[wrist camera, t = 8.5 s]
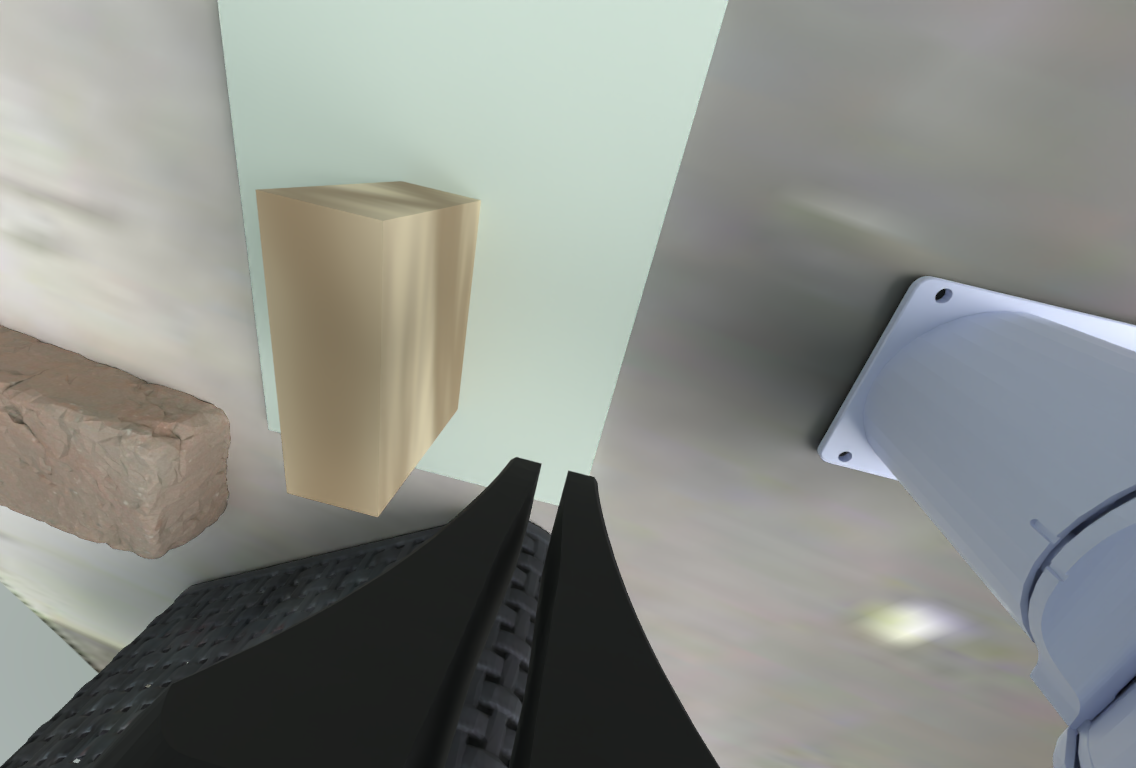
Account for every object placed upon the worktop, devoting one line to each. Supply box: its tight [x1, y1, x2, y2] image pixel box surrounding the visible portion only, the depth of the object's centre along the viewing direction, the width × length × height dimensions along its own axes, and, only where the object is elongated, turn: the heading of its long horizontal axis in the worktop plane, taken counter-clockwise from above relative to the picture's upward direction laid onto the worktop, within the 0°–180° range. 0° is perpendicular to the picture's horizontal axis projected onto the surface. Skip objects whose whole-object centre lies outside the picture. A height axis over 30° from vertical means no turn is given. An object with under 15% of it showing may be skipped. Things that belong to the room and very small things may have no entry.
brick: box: [0, 325, 231, 559], centre depth 23 cm, size 17×8×5 cm, turn 71°
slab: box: [256, 181, 481, 517], centre depth 15 cm, size 3×9×7 cm, turn 168°
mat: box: [217, 0, 728, 506], centre depth 18 cm, size 16×20×1 cm
